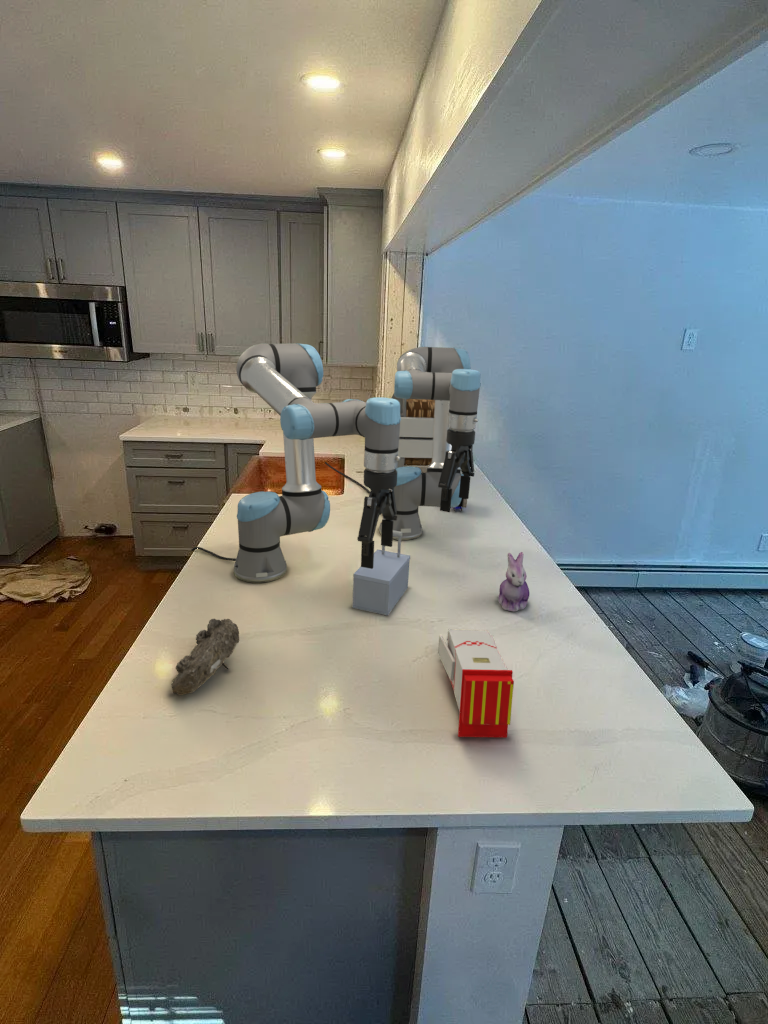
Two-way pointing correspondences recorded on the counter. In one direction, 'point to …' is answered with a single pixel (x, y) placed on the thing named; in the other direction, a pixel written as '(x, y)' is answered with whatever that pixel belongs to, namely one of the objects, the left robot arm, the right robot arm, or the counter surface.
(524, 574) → the figurine
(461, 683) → the toy
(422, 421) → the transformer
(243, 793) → the counter surface
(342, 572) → the counter surface
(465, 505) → the figurine character
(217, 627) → the fossil
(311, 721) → the counter surface
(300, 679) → the counter surface
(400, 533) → the lid
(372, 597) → the chest
